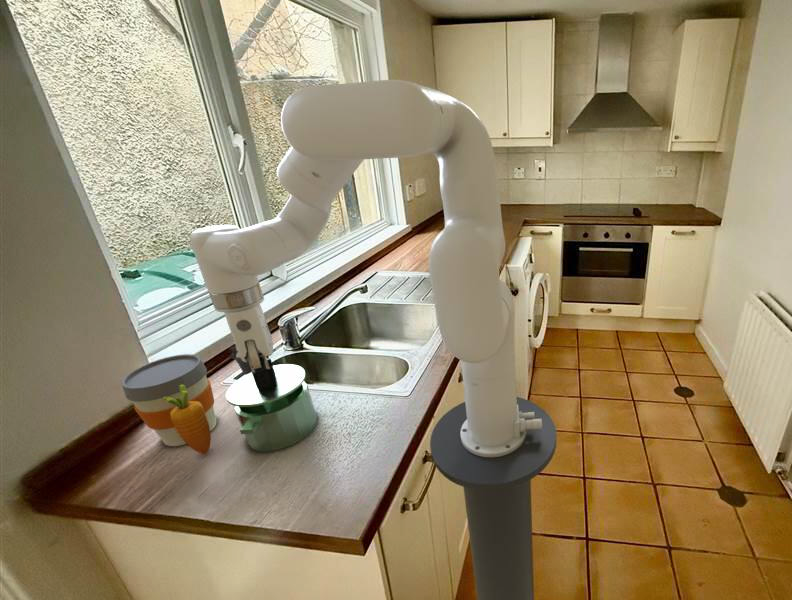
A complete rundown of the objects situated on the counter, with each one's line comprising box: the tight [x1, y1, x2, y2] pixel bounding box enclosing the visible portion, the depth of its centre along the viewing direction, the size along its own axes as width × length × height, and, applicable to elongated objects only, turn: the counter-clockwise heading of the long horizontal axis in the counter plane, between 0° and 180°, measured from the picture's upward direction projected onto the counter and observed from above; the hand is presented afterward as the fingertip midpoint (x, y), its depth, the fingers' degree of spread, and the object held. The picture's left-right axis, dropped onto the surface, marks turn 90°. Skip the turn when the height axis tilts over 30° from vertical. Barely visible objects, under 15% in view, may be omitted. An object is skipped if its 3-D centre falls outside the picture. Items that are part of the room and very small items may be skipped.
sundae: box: [228, 346, 252, 376], centre depth 93 cm, size 7×7×15 cm
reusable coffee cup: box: [121, 353, 217, 447], centre depth 79 cm, size 13×13×15 cm
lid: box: [225, 359, 307, 407], centre depth 76 cm, size 14×14×7 cm
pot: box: [233, 381, 318, 453], centre depth 80 cm, size 13×18×8 cm
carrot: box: [163, 385, 212, 455], centre depth 73 cm, size 5×5×15 cm
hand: (267, 382), depth 77 cm, fingers closed on lid, 2 cm apart
